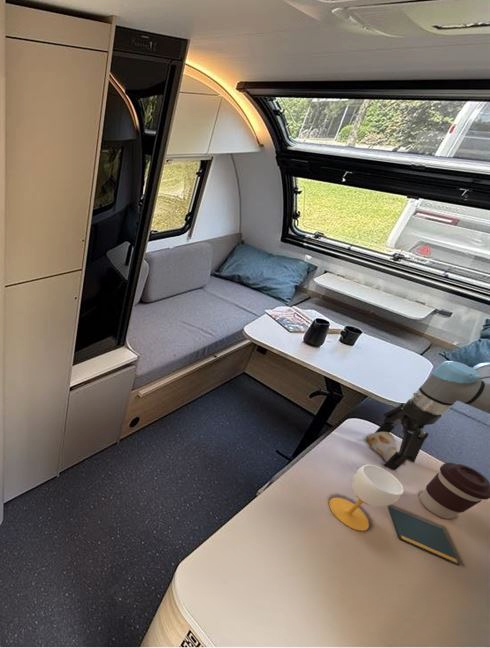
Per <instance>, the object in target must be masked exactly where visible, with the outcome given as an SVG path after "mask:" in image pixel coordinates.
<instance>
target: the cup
mask: <svg viewBox="0 0 490 648" xmlns="http://www.w3.org/2000/svg"><path fill="white" fill-rule="evenodd" d="M351 481H352V484H351V485H352V486H351V487H352V491H353V493H354V494H355V496H356V497H357V499H359V500H357V501H356V503H352V502H350V501H348V500H346V499H344V498H340V497H332V498H330V500H329V502H328V503H329V508H330V510H331V513H332V514H333V515H334V516H335V518H336V519H337V520H338V521H340V522H341V523H342V524H343V525H345V526H346V527H348V528H350V529H352V530H355V531H358V532H364V531H367V530H368V529H369V527H370V523H369V520H368V518H367V516H366V515H365V514H364V512H363V511H362V510H361V508H359V507H360V506H361V505H362V504H365V505H368V506H371V507H376V508H379V507H386V506H387V507H388V506H390V505H392V504H395V503H396V502H397V501H398V500H399V499H400V498H401V497H402V495H403V493H404V492H405V490H404V487H403V485H402V483H401V482H400V480H399V479H398V478H397V477H396V476H394V475H393V474H392V473H391V472H389V471H387V470H386V469H384V468H383V467H379V466H377V465H374V464H364V465H363V466H361V467H360V468H359V469H358V470H357V471H356V472H355V474H354V475H353V477H352V480H351Z"/></svg>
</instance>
